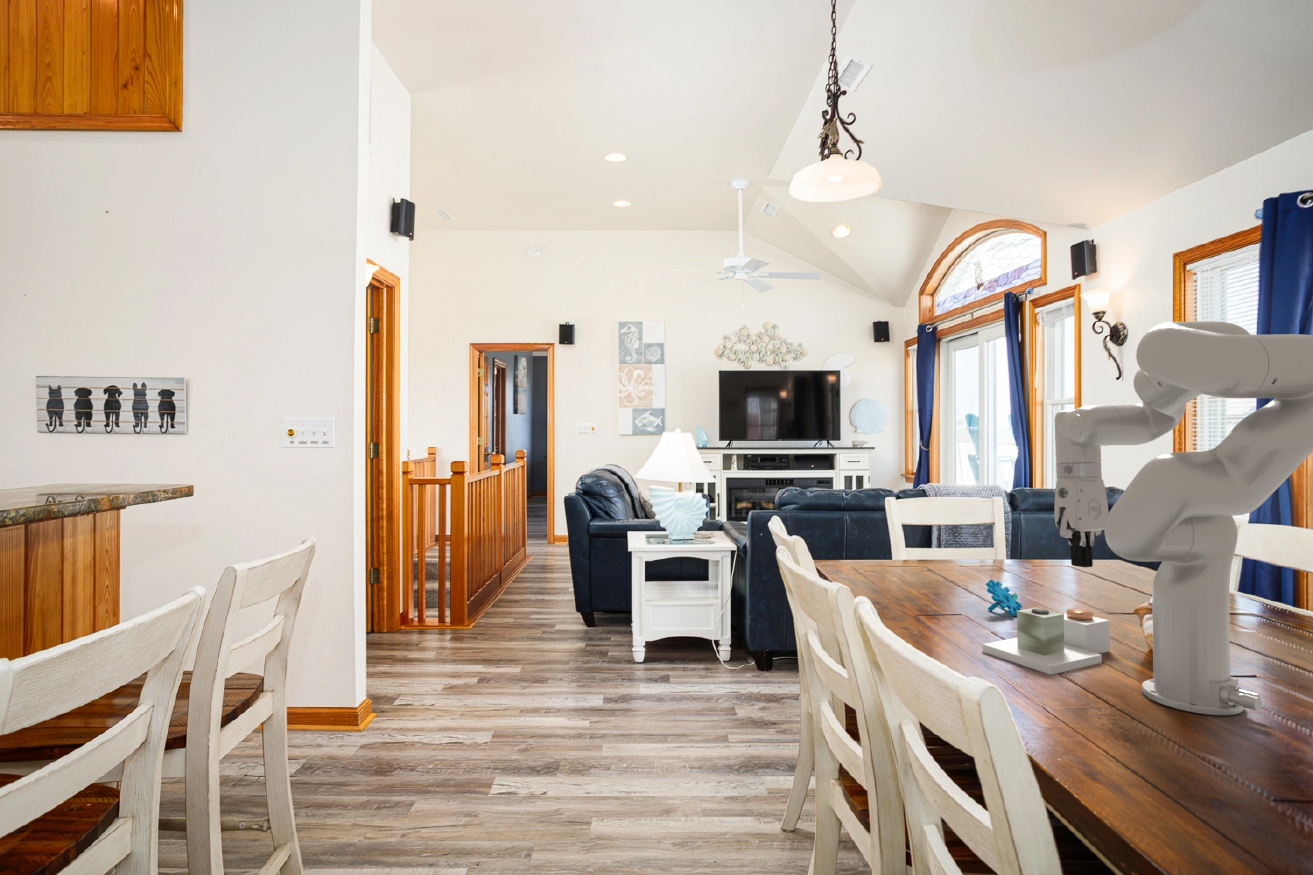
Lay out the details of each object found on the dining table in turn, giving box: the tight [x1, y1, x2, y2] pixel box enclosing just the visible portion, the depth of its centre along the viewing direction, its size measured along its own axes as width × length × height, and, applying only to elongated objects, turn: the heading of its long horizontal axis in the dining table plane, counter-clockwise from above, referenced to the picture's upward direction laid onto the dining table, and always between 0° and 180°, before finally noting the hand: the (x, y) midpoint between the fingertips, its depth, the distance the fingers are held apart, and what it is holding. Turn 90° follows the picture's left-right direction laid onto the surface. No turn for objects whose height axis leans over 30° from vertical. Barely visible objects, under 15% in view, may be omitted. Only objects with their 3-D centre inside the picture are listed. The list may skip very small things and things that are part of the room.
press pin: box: [1066, 608, 1094, 621], centre depth 131 cm, size 4×4×6 cm
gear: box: [985, 578, 1023, 617], centre depth 159 cm, size 11×6×10 cm
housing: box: [1016, 607, 1065, 656], centre depth 126 cm, size 6×6×7 cm
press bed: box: [982, 612, 1111, 675], centre depth 128 cm, size 14×22×6 cm, turn 114°
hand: (1082, 566), depth 130 cm, fingers closed
